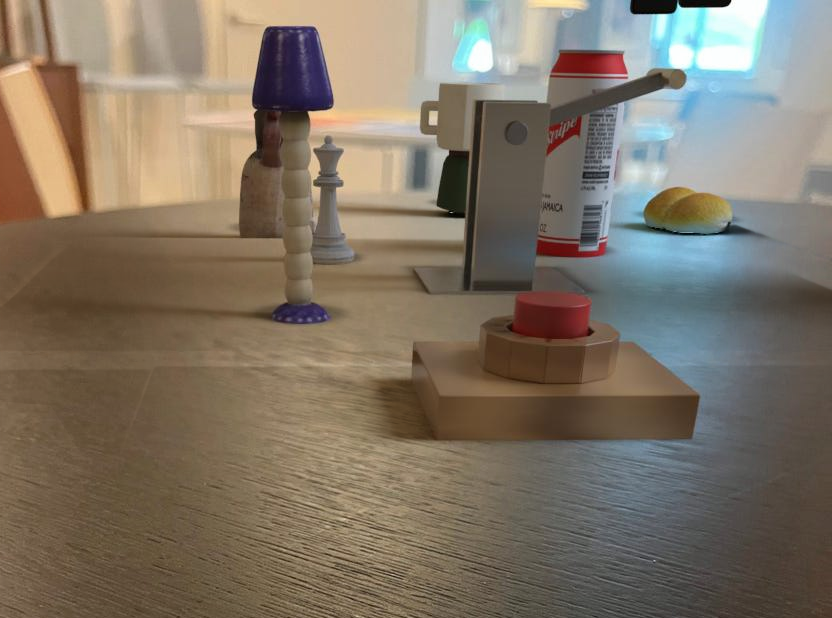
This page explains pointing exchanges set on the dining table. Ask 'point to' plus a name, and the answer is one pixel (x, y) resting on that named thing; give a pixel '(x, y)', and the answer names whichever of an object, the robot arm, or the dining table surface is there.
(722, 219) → the bread roll
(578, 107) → the switch lever
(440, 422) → the button base
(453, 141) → the character mug
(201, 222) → the dining table surface
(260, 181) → the figurine
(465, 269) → the switch bracket
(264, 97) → the toy lamp
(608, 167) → the beer can
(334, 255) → the chess piece
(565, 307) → the timer button
